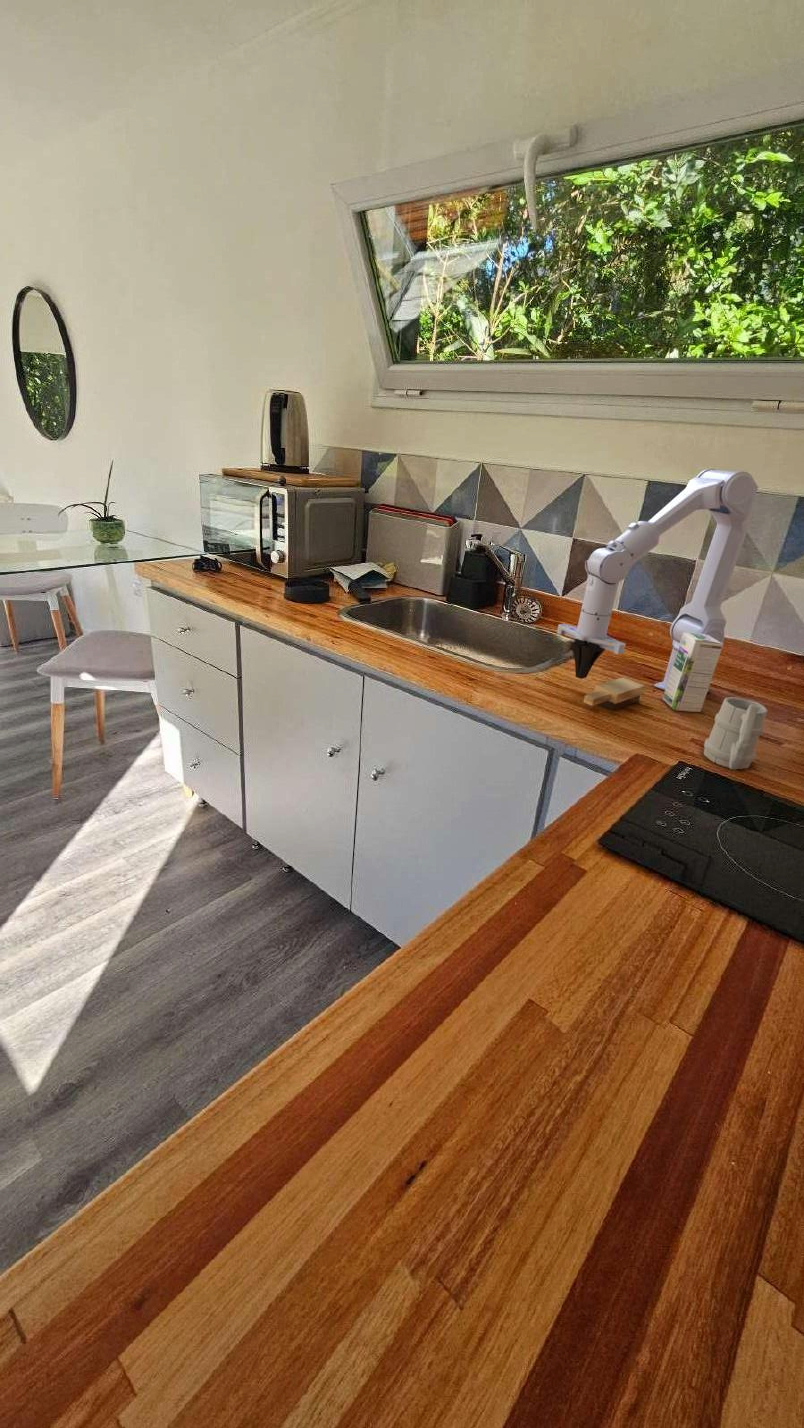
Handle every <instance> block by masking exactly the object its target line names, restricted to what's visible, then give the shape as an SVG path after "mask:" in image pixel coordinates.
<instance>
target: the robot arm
mask: <svg viewBox="0 0 804 1428" xmlns="http://www.w3.org/2000/svg"><path fill="white" fill-rule="evenodd" d="M758 489H759V485H758V484H757V483H756V481H755V479H754V477H753V476H752V474H751V473H749V472H747V471H744V470H742V471H741V470H740V471H733V470H732V471H731V470H722V469H721V470H720V469H719V470H718V469H715V468H706V469H704V470H702V471H701V472H699V473H698V474H697V476H695V477H693V478H691V479H690V480H689V481H688V483H687V484H686V487H685V488H684V489H682V491H680V492H679V494H678V495H676V496H675V497H674V498H673V499H672V500H670V502H668V503H667V504H666V505H665V506H664V507H663V508H662V509H660V510H659V511H658V512H657V513H656V514H655V515H654V516H653V517H652V518H650V519H649V520H648V521H647V520H638V521H637V522H631V523H630V524H629V525H628V526H627V528H628V529H627V530H625V531H624V532H623V533H621V534H620V535H619V536H618V537H617V538H615V539H614V540H610V541H609V542H607V545H606V546H605V547H602V548H601V547H600V548H597V549H595V550H594V551H593V552H592V553H591V554H590V556H589V557H588V559H587V560H585V562H584V568H585V571H586V574H587V579H586V587H585V591H584V596H583V600H582V604H581V609H580V614H579V618H578V621H577V626H575V625H571V624H567V623H559V624H558V626H557V631H556V634H557V635H560V636H566V637H569V638H572V639H575V640H574V641H572V642H571V643H570V648H571V651H572V655H573V658H574V659H573V660H574V666H575V667H574V669H575V677H576V678H577V679H580V680H582V679H586V678H587V677H588V676H589V673H590V672H591V669H592V667H593V666H594V664H595V662H596V661H597V660H598V659H599V658H600V657H601V655H602V654H603V653H604V652H605V651H610V652H612V653H613V654H615V655H623V654H624V653H625V649H626V646H627V644H626V643H625V642H622V641H619V640H617V639H615V638H613V637H611V636H609V635H607V634H608V629H609V626H610V621H611V617H612V614H613V613H612V612H613V609H614V604H615V600H616V597H617V593H618V588H619V584H620V582H621V581H623V580H625V579H626V578H627V576H628V575H629V573H630V571H631V568H632V567H633V566H634V564H635V563H636V562H638V561H639V560H640V559H642V558H643V557H644V556H645V555H647V554H648V553H649V552H651V551H652V550H653V549H654V548H655V547H657V546H658V545H659V542H660V536H661V535H663V534H664V533H666V532H667V531H669V530H670V529H671V528H673V527H674V526H675V525H677V524H679V523H680V522H682V520H684V519H685V518H687V517H688V516H690V515H691V514H693V513H694V512H696V511H699V510H707V511H709V512H710V515H711V516H712V517H713V519H714V521H715V522H716V527H715V530H714V533H713V535H712V539H711V542H710V544H709V547H708V551H707V554H706V557H705V560H704V563H703V565H702V569H701V571H700V574H699V577H698V580H697V583H696V587H695V590H694V593H693V596H692V598H691V601H690V602H689V603H687V604H685V605H684V606H682V607H680V610H679V613H678V615H677V617H676V618H675V619H674V620H673V622H672V623H671V625H670V629H669V636H670V638H671V639H672V643H671V646H672V649H671V653H670V657H669V659H668V663H667V667H666V670H665V673H664V677H663V681H659V682H656V683H654V685H653V687H655V688H658V689H660V690H663V691H665V690H666V686H667V683H668V680H669V676H670V673H671V670H672V667H673V664H674V661H675V657H676V654H677V651H678V648H679V644H680V641H681V638H682V635H683V633H700V634H705V635H710V636H711V637H712V638H714V639H716V640H717V641H719V642H721V643H723V644H724V641H725V627H726V625H727V619H726V617H725V615H724V613H723V611H722V610H721V607H722V604H723V601H724V598H725V595H726V593H727V590H728V587H729V584H730V581H731V580H732V579H731V578H732V576H733V573H734V570H735V567H736V565H737V561H738V559H739V556H740V554H741V551H742V547H743V545H744V542H745V539H746V536H747V533H748V530H749V528H750V525H751V522H752V519H753V503H754V500H755V498H756V494H757V492H758ZM709 691H710V688H708V691H707V693H708V692H709Z"/></svg>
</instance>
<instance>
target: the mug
mask: <svg viewBox="0 0 804 1428" xmlns="http://www.w3.org/2000/svg"><path fill="white" fill-rule="evenodd" d="M767 714H768V709H767V708H766V706H765V705H763V704H761V703H759V702H757V701H755V700H751V699H746V698H741V697H739V696H737V697H736V696H735V697H734V696H729V697H725V698H724V699H723V701H722V704H721V705H720V709H719V711H718V712H717V713H716V714H715V717H714V724H713V727H712V729H711V731H710V734H709V737H708V738H706V739H705V740H704V744H703V747H704V749H703V755H704V757H706V758H707V759H708V760H709V761H711V762H712V763H715V764H717V765H719V766H722V767H724V768H729V769H730V770H737V769H738V770H743V769H748V768H750V766H751V764H752V762H754V761H755V760H756V757H757V756H756V755H757V753H756V748H757V745H758V741H759V739H760V736H761V735H763V732H764V729H765V725H764V724H765V721H766V718H767Z"/></svg>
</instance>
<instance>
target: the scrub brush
mask: <svg viewBox="0 0 804 1428" xmlns="http://www.w3.org/2000/svg"><path fill="white" fill-rule="evenodd" d="M645 689H646V684H642V683H640V682H638V681H634V680H633V679H629V678H627V677H624V676H622V677H620V678H619V677H618V678H615V679H613V680H609V681H606V682H602V683H599V684H596V685H595V686H594V689H593V692H592V693H589V694H585V695H584V698H583V701H582V702H583V703H584V704H586V705H589V706H591V707H593V706H596V705H599V706H601V707H603V708H606V709H608V710H610V711H616V710H619V709H621V708H624V707H627V706H630V705H633V704H636V703H638V702H640V697H641V696H642V695H644V692H645Z"/></svg>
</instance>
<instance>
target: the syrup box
mask: <svg viewBox="0 0 804 1428" xmlns="http://www.w3.org/2000/svg"><path fill="white" fill-rule="evenodd" d="M723 647H724V642H723V643H721V642H719V641H717V640H716V639H714V638H712V637H711V636H710V635H705V634H700V633H683V635H682V638H681V641H680V644H679V648H678V651H677V654H676V657H675V661H674V664H673V667H672V670H671V673H670V676H669V680H668V683H667V686H666V690H664V694H663V696H662V701H663V702H665V703H666V704H667V705H668V706H669V707H670V708H671V709H672V710H673V711H677V712H679V711H681V712H693V713H701V712H702V709H703V706H704V703H705V700H706V697H707V694H708V692H709V691H708V689H710V685H711V683H712V679H713V677H714V673H715V670H716V669H717V665H718V661H719V659H720V656H721V652H722V650H723ZM707 691H708V692H707Z"/></svg>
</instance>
